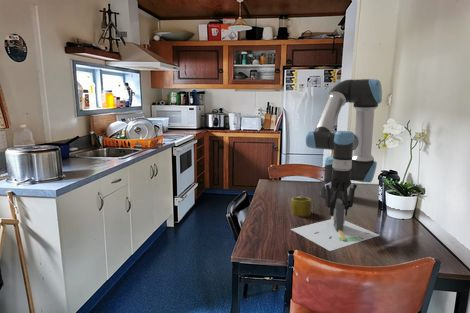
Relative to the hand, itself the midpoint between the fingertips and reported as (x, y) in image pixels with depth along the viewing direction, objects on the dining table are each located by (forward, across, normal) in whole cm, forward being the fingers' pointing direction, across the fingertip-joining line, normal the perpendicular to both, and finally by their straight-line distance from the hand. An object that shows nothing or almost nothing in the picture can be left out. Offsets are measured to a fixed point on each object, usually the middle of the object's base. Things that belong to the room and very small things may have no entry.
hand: (337, 222), depth 138 cm
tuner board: (+3, -3, -5) cm, 7 cm away
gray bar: (+2, -1, -4) cm, 5 cm away
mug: (+3, -10, +19) cm, 22 cm away
